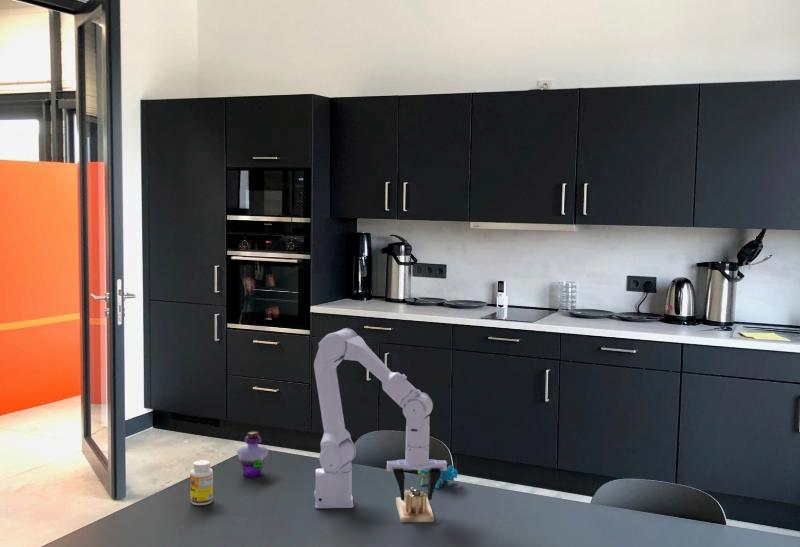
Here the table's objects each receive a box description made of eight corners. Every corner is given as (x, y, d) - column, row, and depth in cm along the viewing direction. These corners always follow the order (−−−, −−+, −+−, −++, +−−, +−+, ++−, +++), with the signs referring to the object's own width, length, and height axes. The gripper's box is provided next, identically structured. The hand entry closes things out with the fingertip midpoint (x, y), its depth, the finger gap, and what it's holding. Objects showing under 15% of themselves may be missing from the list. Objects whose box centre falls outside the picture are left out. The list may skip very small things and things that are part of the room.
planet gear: (406, 514, 190) (407, 493, 190) (404, 506, 195) (405, 486, 194) (427, 514, 190) (427, 493, 190) (424, 506, 195) (425, 486, 195)
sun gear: (403, 504, 197) (404, 491, 196) (401, 497, 202) (402, 484, 201) (423, 504, 197) (424, 491, 197) (421, 497, 202) (421, 484, 202)
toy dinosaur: (462, 476, 217) (452, 459, 210) (459, 496, 213) (449, 479, 206) (425, 476, 221) (413, 458, 214) (421, 496, 217) (409, 478, 210)
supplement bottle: (188, 499, 200) (188, 460, 199) (210, 496, 202) (211, 457, 201) (191, 507, 195) (191, 467, 194) (214, 504, 197) (214, 464, 196)
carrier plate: (400, 522, 189) (401, 516, 188) (395, 501, 201) (395, 497, 201) (434, 521, 189) (434, 516, 189) (426, 501, 202) (426, 496, 202)
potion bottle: (253, 482, 213) (253, 438, 212) (230, 475, 218) (230, 433, 217) (274, 473, 221) (275, 431, 220) (252, 467, 225) (252, 426, 224)
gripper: (389, 449, 187) (387, 505, 188) (449, 449, 188) (447, 504, 189) (386, 440, 194) (385, 494, 195) (444, 440, 195) (443, 493, 196)
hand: (415, 498), depth 193 cm, fingers open, 6 cm apart
